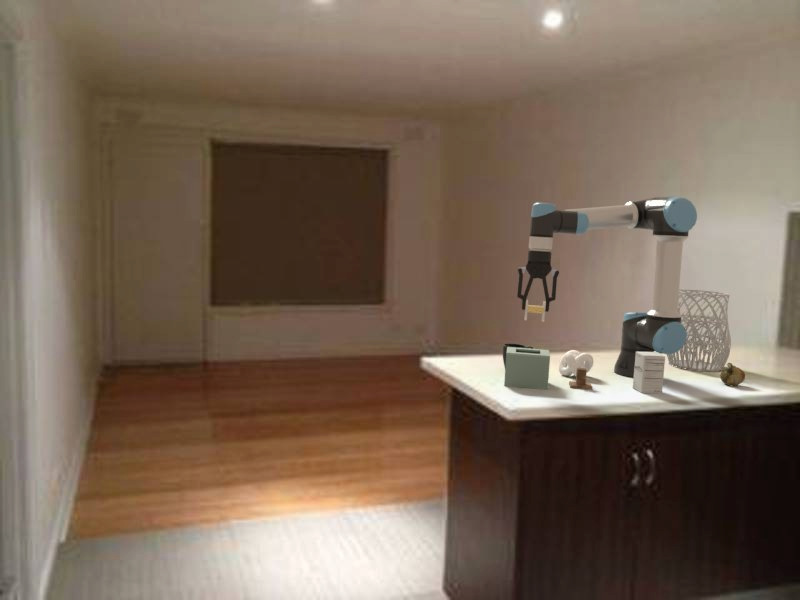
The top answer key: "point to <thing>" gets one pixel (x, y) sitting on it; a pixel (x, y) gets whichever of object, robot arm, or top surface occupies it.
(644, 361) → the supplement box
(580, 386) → the token stand
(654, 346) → the robot arm
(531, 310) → the panel
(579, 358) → the white knot sculpture
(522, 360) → the box
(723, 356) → the vase
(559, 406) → the top surface
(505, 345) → the mug
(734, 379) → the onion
